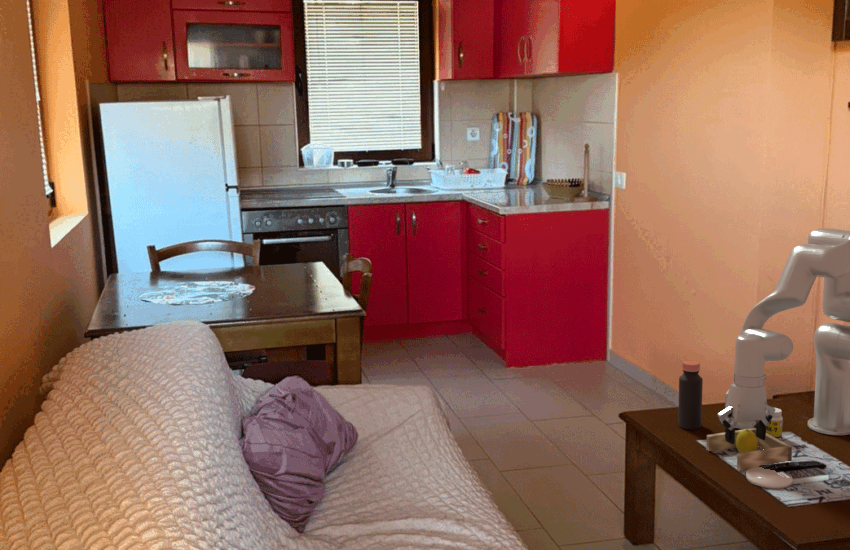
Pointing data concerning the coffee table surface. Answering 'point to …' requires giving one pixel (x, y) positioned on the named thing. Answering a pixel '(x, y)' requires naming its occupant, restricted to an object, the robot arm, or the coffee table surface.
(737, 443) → the lemon
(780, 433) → the supplement bottle
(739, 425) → the small box
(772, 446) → the pine box
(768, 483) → the saucer
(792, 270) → the robot arm
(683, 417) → the vinegar
